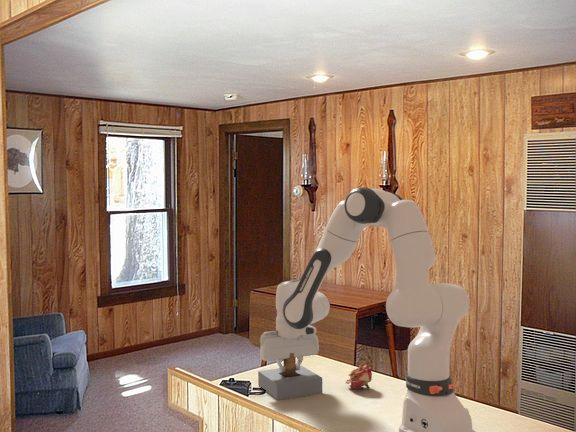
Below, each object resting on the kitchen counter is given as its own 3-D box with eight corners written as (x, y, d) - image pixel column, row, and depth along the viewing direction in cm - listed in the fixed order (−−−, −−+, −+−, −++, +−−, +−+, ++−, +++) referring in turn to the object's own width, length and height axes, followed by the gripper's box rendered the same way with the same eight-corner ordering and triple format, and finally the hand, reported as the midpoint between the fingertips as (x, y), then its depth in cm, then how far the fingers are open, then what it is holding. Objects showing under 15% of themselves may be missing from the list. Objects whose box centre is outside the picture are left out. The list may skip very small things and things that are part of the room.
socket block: (322, 393, 192) (322, 377, 191) (276, 400, 185) (276, 384, 185) (301, 379, 206) (301, 365, 206) (258, 385, 200) (258, 371, 200)
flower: (379, 380, 199) (365, 359, 201) (380, 382, 190) (366, 361, 192) (355, 396, 199) (341, 376, 201) (355, 399, 190) (341, 378, 192)
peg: (297, 382, 195) (297, 352, 194) (286, 384, 193) (286, 353, 193) (292, 379, 198) (292, 349, 198) (281, 381, 197) (281, 351, 196)
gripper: (263, 334, 188) (264, 377, 188) (320, 328, 196) (321, 369, 197) (256, 330, 194) (256, 372, 194) (312, 324, 202) (312, 365, 202)
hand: (289, 371), depth 195 cm, fingers closed on peg, 4 cm apart
